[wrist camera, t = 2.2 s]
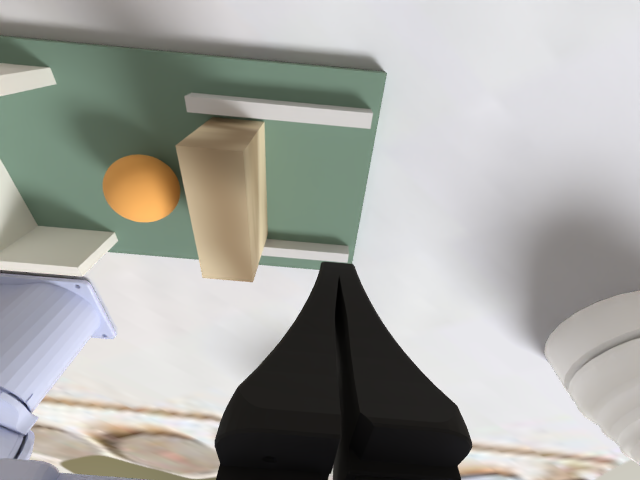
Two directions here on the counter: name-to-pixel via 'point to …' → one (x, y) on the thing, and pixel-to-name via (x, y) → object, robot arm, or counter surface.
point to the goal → (17, 221)
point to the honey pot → (603, 366)
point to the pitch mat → (175, 125)
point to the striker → (226, 195)
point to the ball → (141, 188)
